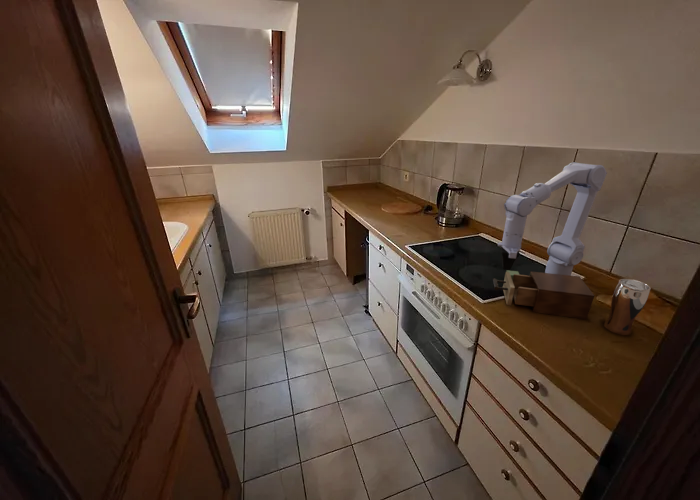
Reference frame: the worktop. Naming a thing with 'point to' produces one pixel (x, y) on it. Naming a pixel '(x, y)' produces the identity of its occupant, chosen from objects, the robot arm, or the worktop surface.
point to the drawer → (518, 289)
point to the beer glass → (626, 305)
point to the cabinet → (562, 295)
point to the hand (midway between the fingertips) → (506, 269)
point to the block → (513, 273)
